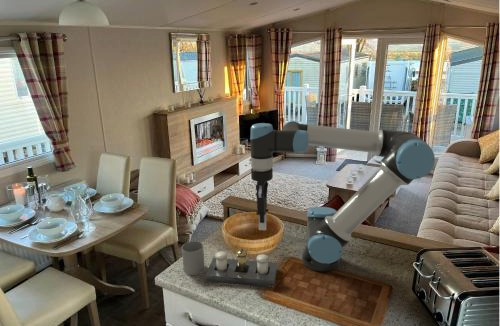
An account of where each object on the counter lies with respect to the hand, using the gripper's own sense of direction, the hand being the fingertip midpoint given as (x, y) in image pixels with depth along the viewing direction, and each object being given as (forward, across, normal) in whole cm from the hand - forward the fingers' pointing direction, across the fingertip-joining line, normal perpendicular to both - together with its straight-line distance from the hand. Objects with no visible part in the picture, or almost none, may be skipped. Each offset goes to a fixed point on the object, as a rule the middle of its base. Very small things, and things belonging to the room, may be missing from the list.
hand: (262, 229), depth 136 cm
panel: (+20, 0, -8) cm, 22 cm away
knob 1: (+20, 0, -16) cm, 26 cm away
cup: (+21, -2, -28) cm, 35 cm away
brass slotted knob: (+17, 0, -8) cm, 19 cm away
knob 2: (+20, 0, 0) cm, 20 cm away
